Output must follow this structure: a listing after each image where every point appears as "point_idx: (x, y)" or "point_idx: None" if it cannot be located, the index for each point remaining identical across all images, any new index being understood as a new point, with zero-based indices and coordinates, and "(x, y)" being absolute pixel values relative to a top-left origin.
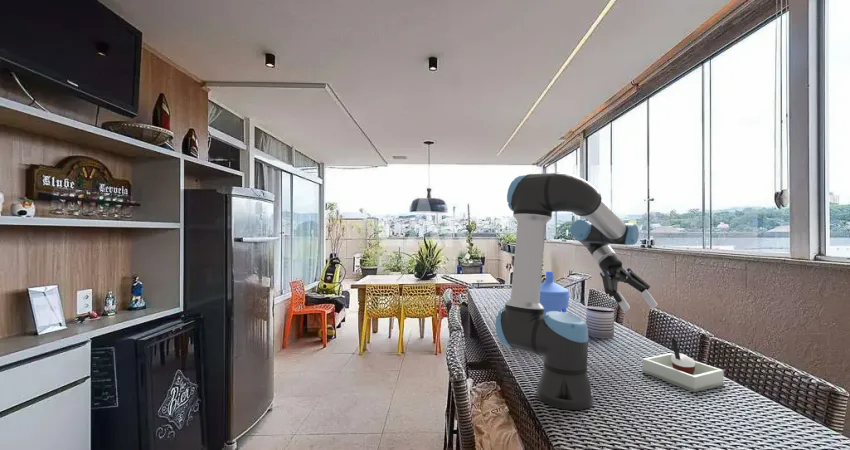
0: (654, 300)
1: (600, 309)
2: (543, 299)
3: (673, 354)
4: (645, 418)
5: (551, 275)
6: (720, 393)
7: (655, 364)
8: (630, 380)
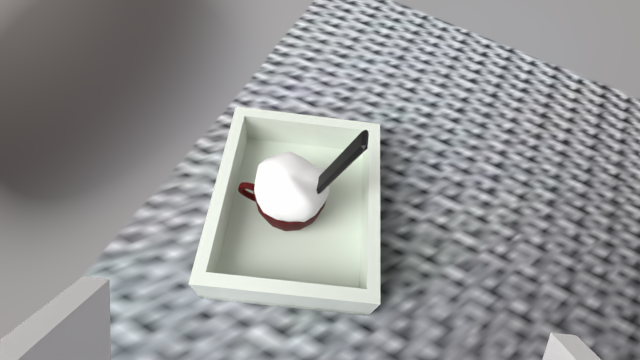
0: (43, 316)
1: None
2: None
3: (303, 205)
4: (602, 145)
5: None
6: None
7: (379, 247)
8: (475, 289)
